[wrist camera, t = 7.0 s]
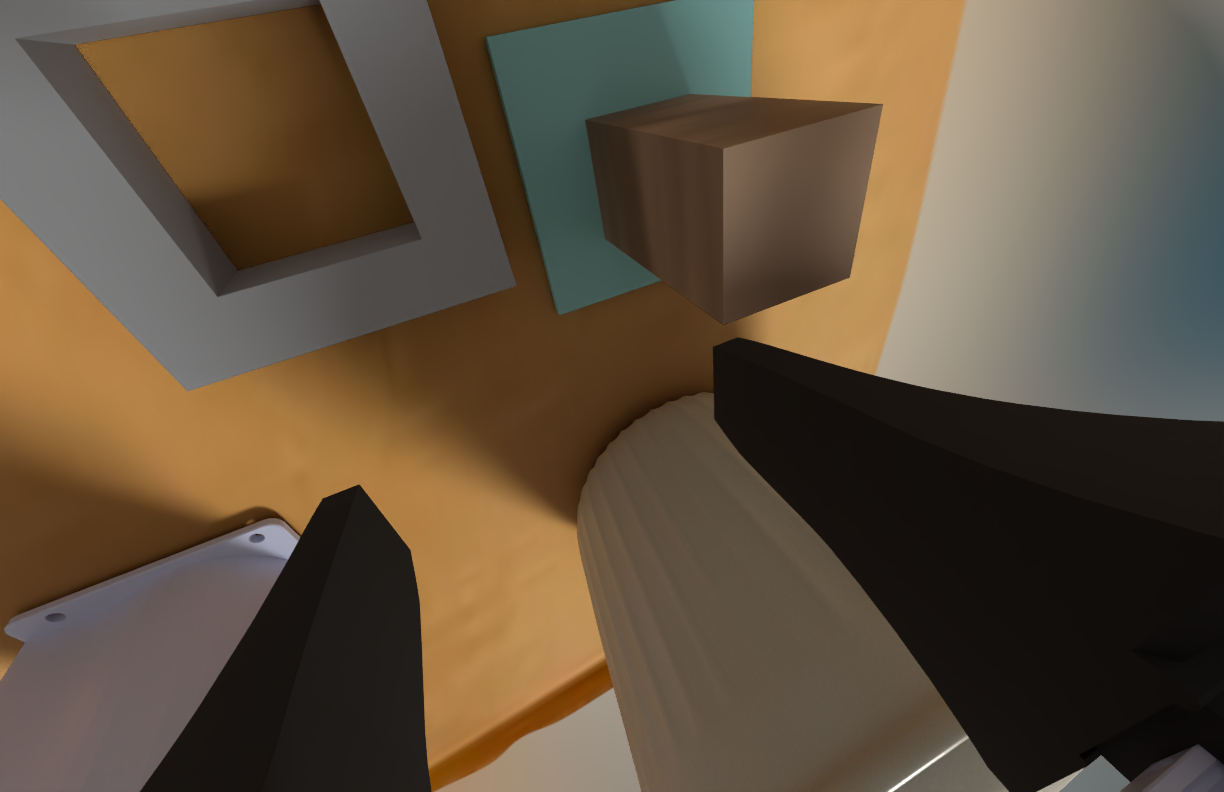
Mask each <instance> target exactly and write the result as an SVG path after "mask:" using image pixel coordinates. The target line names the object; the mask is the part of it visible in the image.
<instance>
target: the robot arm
mask: <svg viewBox="0 0 1224 792" xmlns="http://www.w3.org/2000/svg"><path fill="white" fill-rule="evenodd" d="M713 374H714V420H715V421H716V422H717V424H718V425H719V427H720V428H721V429H722V431H723V432H724V434H725V435H726V436H727V438H728V439H729V440H730V442H731V443H732V444H733V446H734V447H735V448H736V450H737V451H738V452H739V453H740V455H741V456H742V457H743V458H744V459H745V460H746V461H747V462H748V463H749V464H750V465H751V466H752V467H753V468H754V469H755V470H756V472H757V473H758V474H759V475H760V476H761V477H762V478H763V479H764V480H765V481H766V482H767V483H768V484H769V485H770V486H771V487H772V488H773V489H774V490H775V491H776V492H777V493H778V494H779V495H780V496H781V497H782V498H783V499H784V500H785V501H786V502H787V503H788V504H789V505H790V506H791V507H792V508H793V509H794V510H795V511H796V512H797V513H798V514H799V515H800V516H801V517H802V519H803V520H804V521H805V522H806V523H807V524H808V525H809V526H810V527H811V528H812V529H813V530H814V531H815V532H816V533H817V534H818V535H819V536H820V538H821V539H822V540H823V541H824V542H825V543H826V544H827V545H828V546H829V548H830V549H831V550H832V551H833V552H834V554H835V555H836V556H837V557H838V559H839V560H840V561H841V562H842V564H843V565H844V566H845V567H846V569H847V570H848V571H849V572H850V574H851V575H852V576H853V577H854V579H855V580H856V581H857V582H858V583H859V585H860V586H861V587H862V589H863V590H864V591H865V592H866V594H867V595H868V596H869V598H870V599H871V600H872V602H873V603H874V604H875V606H876V607H877V608H878V610H879V611H880V612H881V613H882V615H883V616H884V617H885V619H886V620H887V621H888V623H889V624H890V625H891V627H892V628H893V629H894V631H895V632H896V633H897V635H898V636H899V637H900V639H901V640H902V642H903V643H904V644H905V646H906V647H907V649H908V650H909V651H910V653H911V654H912V656H913V657H914V658H915V660H916V661H917V663H918V664H919V665H920V667H921V668H922V670H923V671H924V672H925V674H926V675H927V677H928V678H929V679H930V681H931V682H932V684H933V685H934V687H935V688H936V690H937V691H938V693H939V694H940V696H941V697H942V698H943V700H944V701H945V703H946V704H947V706H948V707H949V709H950V710H951V712H952V713H953V715H954V716H955V718H956V719H957V721H958V722H959V724H960V725H961V727H962V728H963V730H964V731H965V733H966V734H967V736H968V737H969V739H970V740H971V742H972V744H973V745H974V747H975V748H976V750H977V751H978V753H979V755H980V756H981V758H982V759H983V761H984V762H985V764H986V766H987V767H988V768H989V770H990V771H991V772H992V773H993V774H994V775H995V776H996V777H997V779H998V780H999V781H1000V782H1001V783H1002V784H1003V785H1004V786H1005V788H1006V789H1007V790H1008V791H1009V792H1037V791H1039V790H1041V789H1043V788H1045V787H1047V786H1049V785H1051V784H1053V783H1055V782H1057V781H1059V780H1061V779H1063V778H1065V777H1067V776H1069V775H1071V774H1073V773H1075V772H1077V771H1079V770H1081V769H1083V768H1085V767H1087V766H1088V765H1089V764H1091V763H1092V762H1093V761H1094V760H1095V759H1097V758H1098V757H1099V756H1100V755H1102V756H1103V757H1104V758H1105V759H1106V760H1107V761H1108V762H1109V763H1111V764H1112V765H1113V766H1114V767H1115V768H1116V769H1117V770H1118V771H1119V772H1120V773H1121V774H1123V776H1124V777H1126V778H1127V779H1128V780H1129V781H1130V782H1131V783H1130V784H1128V785H1127V786H1126V787H1125V788H1124V789H1122V790H1121V791H1120V792H1224V422H1219V421H1217V422H1216V421H1192V420H1177V419H1163V418H1150V417H1137V416H1122V415H1111V414H1100V413H1091V412H1080V411H1071V410H1062V409H1055V408H1047V407H1039V406H1031V405H1023V404H1015V403H1009V402H1002V401H995V400H989V399H983V398H977V397H972V396H966V395H961V394H956V393H950V392H945V391H939V390H934V389H930V388H925V387H920V386H915V385H911V384H907V383H903V382H899V381H895V380H890V379H886V378H882V377H878V376H874V375H870V374H867V373H863V372H859V371H855V370H852V369H848V368H844V367H841V366H837V365H834V364H830V363H827V362H824V361H820V360H817V359H813V358H810V357H807V356H803V355H800V354H797V353H793V352H790V351H787V350H783V349H780V348H776V347H773V346H770V345H766V344H763V343H759V342H755V341H751V340H747V339H743V338H738V337H737V338H735V339H732V340H730V341H727V342H725V343H722V344H719V345H717V346H714V347H713ZM254 534H262V535H254ZM4 632H5V633H6V634H7V635H9V636H11V637H13V638H16V639H18V640H20V641H23V642H25V643H24V645H23V646H22V648H21V649H20V651H19V652H18V654H17V656H16V657H15V659H14V660H13V662H12V663H11V665H10V667H9V668H8V670H7V671H6V673H5V675H4V676H3V678H2V679H1V681H0V792H431V785H430V778H429V771H428V763H427V750H426V738H425V719H424V693H423V667H422V642H421V620H420V601H419V595H418V589H417V583H416V577H415V572H414V567H413V561H412V556H411V551H410V549H409V548H408V546H407V545H406V544H405V542H404V541H403V540H402V539H401V537H400V536H399V535H398V533H397V532H396V531H395V530H394V528H393V527H392V526H391V524H390V523H389V522H388V521H387V519H386V518H385V517H384V515H383V514H382V513H381V512H380V510H379V509H378V508H377V506H376V505H375V504H374V503H373V501H372V500H371V499H370V497H369V496H368V495H367V494H366V492H365V491H364V490H363V488H362V487H361V486H360V485H357V486H354V487H351V488H349V489H346V490H344V491H341V492H339V493H336V494H333V495H331V496H328V497H326V498H323V499H322V501H321V503H320V504H319V506H318V507H317V509H316V511H315V513H314V514H313V516H312V518H311V519H310V521H309V523H308V525H307V527H306V528H305V530H304V532H303V534H302V535H301V537H300V536H299V535H298V534H297V533H296V532H294V531H293V530H292V529H291V528H290V527H289V526H288V525H287V524H286V523H285V522H284V521H282V520H281V519H276V518H269V519H265V520H262V521H259V522H257V523H254V524H251V525H249V526H246V527H244V528H241V529H238V530H236V531H233V532H231V533H228V534H226V535H223V536H220V537H218V538H215V539H213V540H210V541H207V542H205V543H202V544H200V545H197V546H195V547H192V548H189V549H187V550H184V551H182V552H179V553H176V554H174V555H171V556H169V557H166V558H164V559H161V560H158V561H156V562H153V563H151V564H148V565H145V566H143V567H140V568H138V569H135V570H133V571H130V572H127V573H125V574H122V575H120V576H117V577H114V578H112V579H109V580H107V581H104V582H102V583H99V584H96V585H94V586H91V587H89V588H86V589H83V590H81V591H78V592H76V593H73V594H71V595H68V596H65V597H63V598H60V599H58V600H55V601H52V602H50V603H47V604H45V605H42V606H40V607H37V608H34V609H32V610H29V611H27V612H24V613H21V614H19V615H16V616H15V617H13V618H11V619H10V621H9V622H8V624H7V625H6V627H5V628H4Z"/></svg>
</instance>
